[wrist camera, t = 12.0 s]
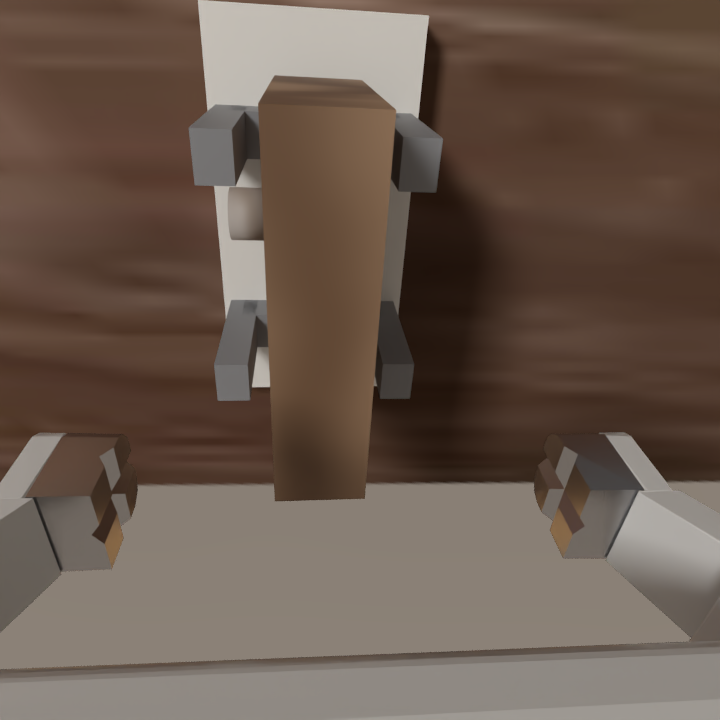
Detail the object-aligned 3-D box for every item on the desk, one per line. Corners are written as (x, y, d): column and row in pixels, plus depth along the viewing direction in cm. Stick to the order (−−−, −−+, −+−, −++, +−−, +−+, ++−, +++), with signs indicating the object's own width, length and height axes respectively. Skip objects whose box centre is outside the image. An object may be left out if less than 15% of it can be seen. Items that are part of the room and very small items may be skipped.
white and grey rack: (420, 16, 20) (470, 11, 14) (387, 370, 29) (409, 459, 23) (204, 2, 19) (161, -10, 13) (235, 370, 28) (217, 463, 22)
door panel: (362, 79, 18) (396, 110, 12) (347, 370, 25) (364, 498, 18) (244, 73, 18) (209, 100, 11) (260, 370, 24) (244, 502, 18)
